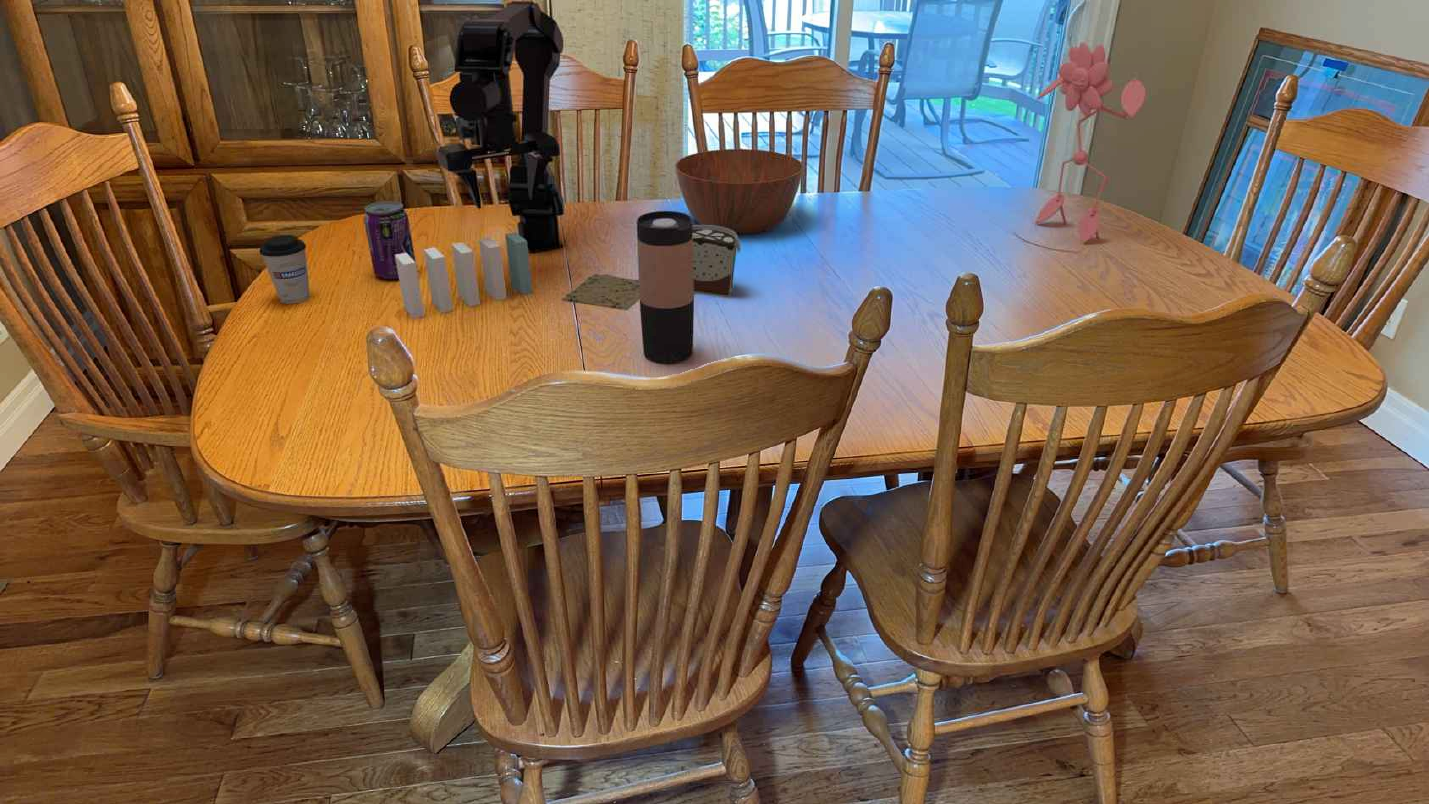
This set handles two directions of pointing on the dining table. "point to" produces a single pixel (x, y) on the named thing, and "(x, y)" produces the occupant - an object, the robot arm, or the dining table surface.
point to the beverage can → (387, 236)
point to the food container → (714, 259)
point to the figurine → (1085, 88)
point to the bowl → (739, 187)
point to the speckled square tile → (606, 292)
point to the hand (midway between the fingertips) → (505, 203)
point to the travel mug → (666, 285)
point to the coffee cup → (287, 267)
